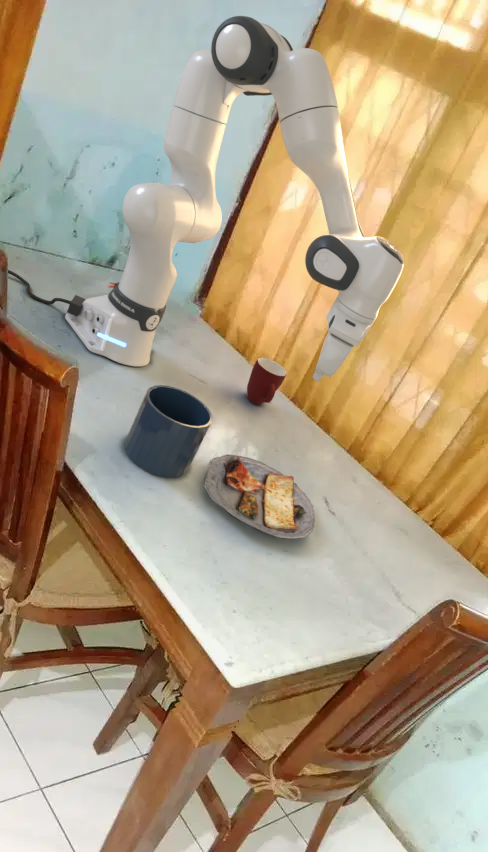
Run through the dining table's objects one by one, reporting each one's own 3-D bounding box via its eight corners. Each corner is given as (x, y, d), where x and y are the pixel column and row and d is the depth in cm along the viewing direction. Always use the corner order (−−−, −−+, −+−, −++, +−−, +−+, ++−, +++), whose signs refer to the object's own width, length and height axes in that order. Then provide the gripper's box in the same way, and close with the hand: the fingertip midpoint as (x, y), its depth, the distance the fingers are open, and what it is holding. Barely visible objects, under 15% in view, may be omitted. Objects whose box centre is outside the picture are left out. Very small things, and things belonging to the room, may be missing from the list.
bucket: (110, 438, 137) (132, 387, 131) (159, 431, 148) (182, 383, 141) (152, 482, 132) (177, 431, 126) (200, 472, 142) (225, 424, 136)
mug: (277, 418, 178) (296, 384, 173) (251, 413, 173) (269, 378, 168) (261, 393, 185) (278, 360, 180) (235, 388, 180) (252, 354, 175)
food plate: (211, 448, 152) (217, 434, 150) (309, 492, 156) (316, 480, 154) (194, 513, 131) (202, 498, 129) (308, 562, 135) (317, 549, 133)
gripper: (339, 299, 152) (308, 354, 159) (331, 326, 135) (297, 387, 142) (365, 313, 153) (333, 368, 160) (360, 342, 135) (325, 402, 142)
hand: (316, 377), depth 151 cm, fingers closed
